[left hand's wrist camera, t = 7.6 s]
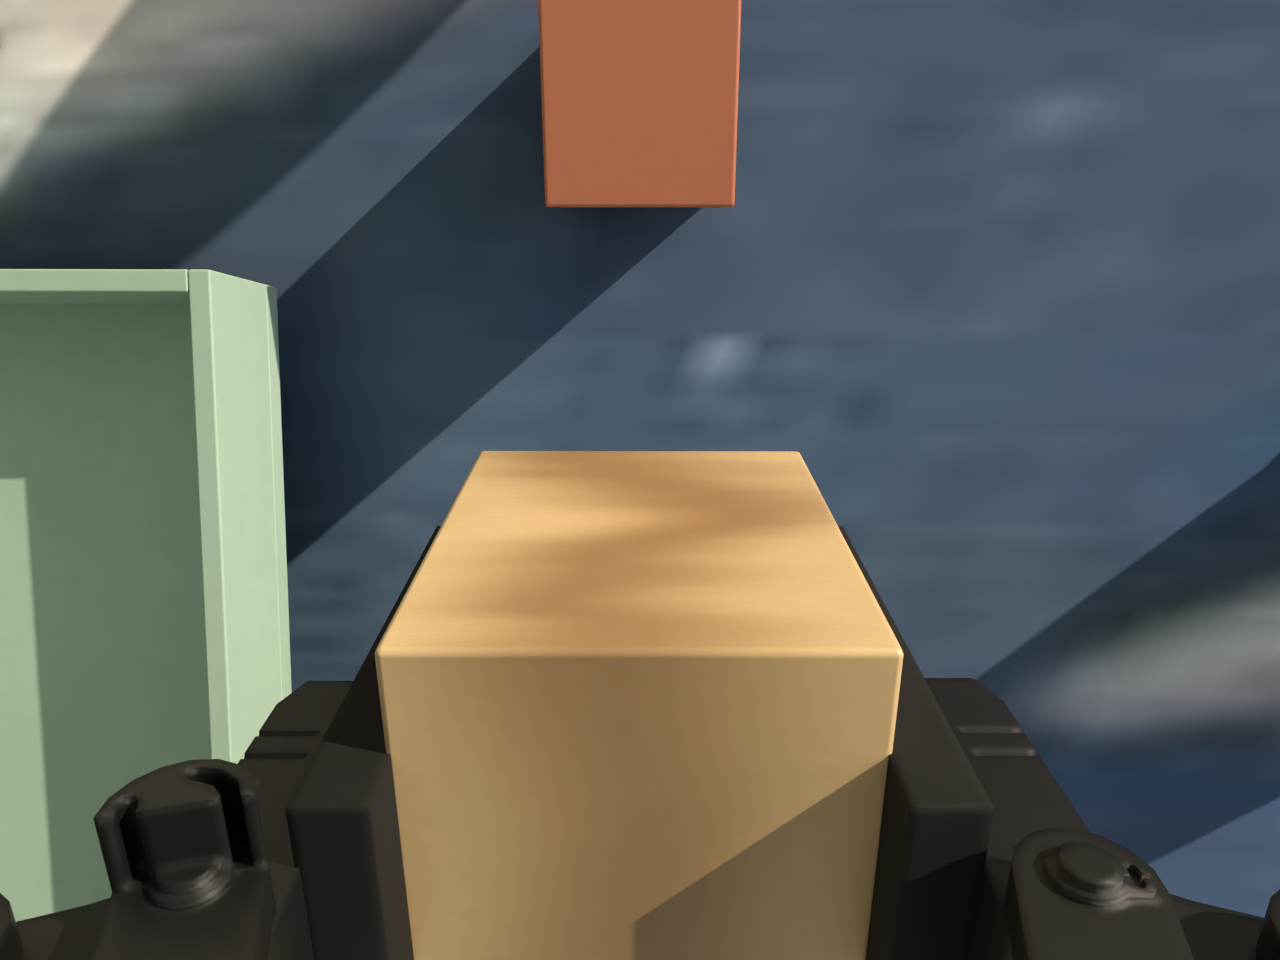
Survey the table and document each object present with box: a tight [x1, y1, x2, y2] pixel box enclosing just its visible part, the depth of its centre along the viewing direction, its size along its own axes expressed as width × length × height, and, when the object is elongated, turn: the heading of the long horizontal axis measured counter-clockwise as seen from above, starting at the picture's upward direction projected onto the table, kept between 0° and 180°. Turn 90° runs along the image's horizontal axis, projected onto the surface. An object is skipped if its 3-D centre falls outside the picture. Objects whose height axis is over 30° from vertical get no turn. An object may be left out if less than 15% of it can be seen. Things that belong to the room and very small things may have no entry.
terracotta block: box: [538, 0, 741, 207], centre depth 26 cm, size 5×5×6 cm
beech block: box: [375, 451, 904, 960], centre depth 12 cm, size 5×5×6 cm
